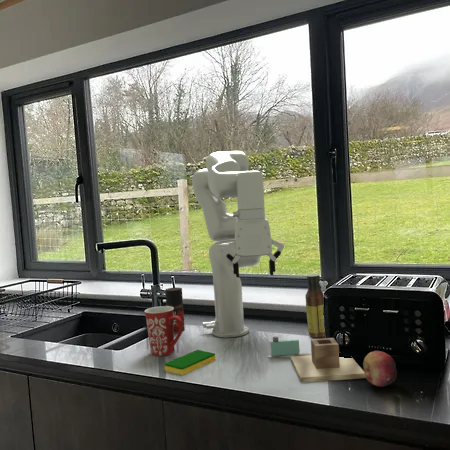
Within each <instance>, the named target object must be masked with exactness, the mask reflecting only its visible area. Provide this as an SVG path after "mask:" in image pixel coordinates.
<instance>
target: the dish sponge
mask: <svg viewBox="0 0 450 450" xmlns="http://www.w3.org/2000/svg"><path fill="white" fill-rule="evenodd" d="M214 361H216V353H215V352H211V351H206V350H201V349H196V350H194V351H193V350H192V352H189V353H186V354H184V355H182V356H179V357H177V358H174V359H172V360H169V361H166V362H164V371H166V372H170V373H173V374H177V375H181V376H184V375H186V374H187V373H191V372H193V371H195V370H197V369H199V368H201V367H204V366H206V365H208V364H210V363H212V362H214Z"/></svg>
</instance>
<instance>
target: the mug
mask: <svg viewBox="0 0 450 450" xmlns="http://www.w3.org/2000/svg"><path fill="white" fill-rule="evenodd" d="M173 310H174V308H173V307H170V306H166V305H164V306H163V305H162V306H160V305H159V306H154V307H153V306H152V307H149V308H147V309H145V310H144V314H145V321H146V327H147V335H148V343H149V349H150V350H149V351H150V354H151V355H152V356H155V357H163V356H168V355H172V354H173V353H174V352H175V345H177V343H178V341H179V340H180V338H181V335H182V333H183V332H182V330H183V321H182V319H181V317H179V316H173ZM174 319H176V320H177V321H178V323H179V331H178V333H176V336H175V333H174Z"/></svg>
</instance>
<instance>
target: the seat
mask: <svg viewBox="0 0 450 450" xmlns="http://www.w3.org/2000/svg"><path fill="white" fill-rule="evenodd" d="M289 357H290V361H291V364H292V366H293V368H294V370H295V373H296V375H297V378H298V379H299V382H300V383H313V382H327V381H343V380H345V381H346V380H358V379H367V378H366V376H365V373H364V369H363V368H362V367H361V366H360V365H359V364H358V363H357V362H356V360H355V359H354V358H353V357H352V358H344V357H339V362H340V368H325V369H316V368H315V366H314V364H313V362H312V353H311V352H306V353H305V352H303V353H299V354H295V355H280V356H271V355H267V359H274V358H275V359H276V358H289Z"/></svg>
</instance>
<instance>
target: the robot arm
mask: <svg viewBox="0 0 450 450" xmlns="http://www.w3.org/2000/svg"><path fill="white" fill-rule="evenodd" d="M205 167H206V168H202V169H201V168H200V169H199V170H197V171H195V172H193V175H192V178H191V185H192V190H193V194H194V196H195V198H196V200H197V202H198V204H199V205H200V207H201V209H202V212H203V217H204V222H205V225H206V231H207V234H208V236H209V238H210V240H211V241H212V242H214V243H213V244H211V245H210V247H209V249H208V258H209V262H210V267H211V271H212V272H211V273H212V280H213V281H212V283H213V294H214V310H215V311H214V312H215V318H214V320H212V321H203V322H202V327H203V329H207V330H208V329H210V330H211V329H212V330H211V334H212V335H213V336H214V337H217V338H236V337H242V336H246V334H248V333H249V329H250V328H249V326H246V325H245V323H244V322H245V318H244V302H243V290H242V289H243V286H242V279H241V278H240V269H239V268H249V267H254V266H257V265H258V264H259V263H260V261H261V256H262V257H263V256H267V257H268V258H269V260H268V267H269V268H268V269H269V272H268V273H269V274H270V276H274V273H275V272H276V261H277V259H278V258H279V256H281V254H282V252H283V250H284V247H285V245H284V244H283V243H281V242H278V241H277V240H274V239H272V236H271V234H272V233H271V228H270V227H271V226H270V222H269V219H267V218H266V211H265V208H266V207H265V190H264V189H265V188H264V175H263V173H262V171H259V170H249V167H250V163H249V158H248V156H247V154H246V153H245V152H243V151H241V150H231V151H230V150H229V151H228V150H227V151H216V152H212V153H210V154H209V155H208V156H207V158H206V160H205ZM231 198H236V199H237V202H236V203H237V210H236V211H233V212H232V213H228V212H229V211H228V210H227V209H228V208H227V205H226V203H225V202H224V200H223V199H231ZM273 246H275V247H277V249H276V251H275V252H274V253H273Z"/></svg>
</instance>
